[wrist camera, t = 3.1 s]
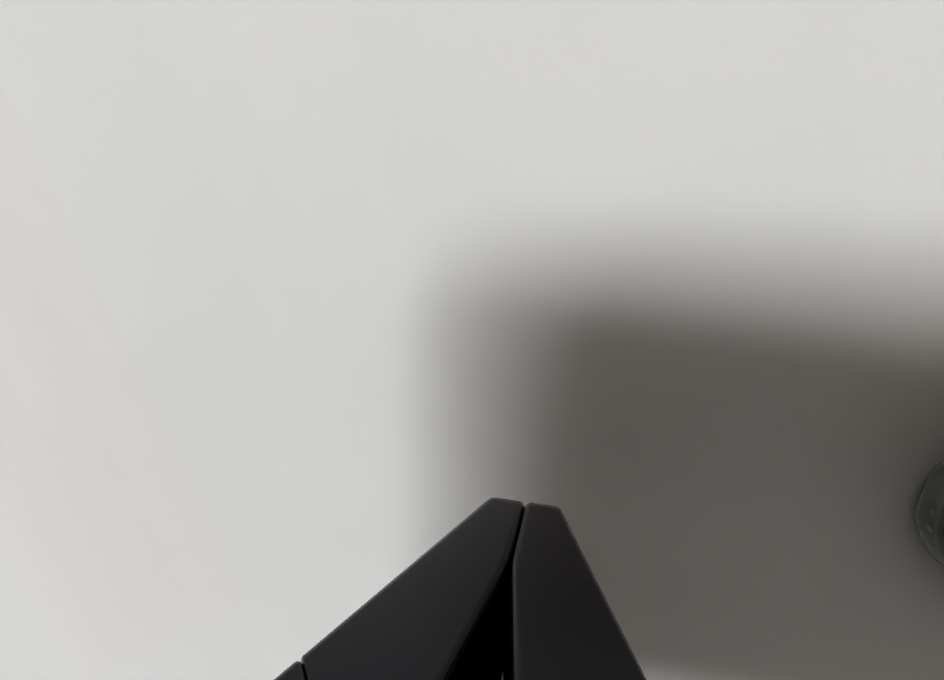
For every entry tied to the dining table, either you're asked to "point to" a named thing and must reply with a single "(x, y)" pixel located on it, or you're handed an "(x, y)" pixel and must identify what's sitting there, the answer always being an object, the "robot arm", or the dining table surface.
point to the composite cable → (932, 513)
